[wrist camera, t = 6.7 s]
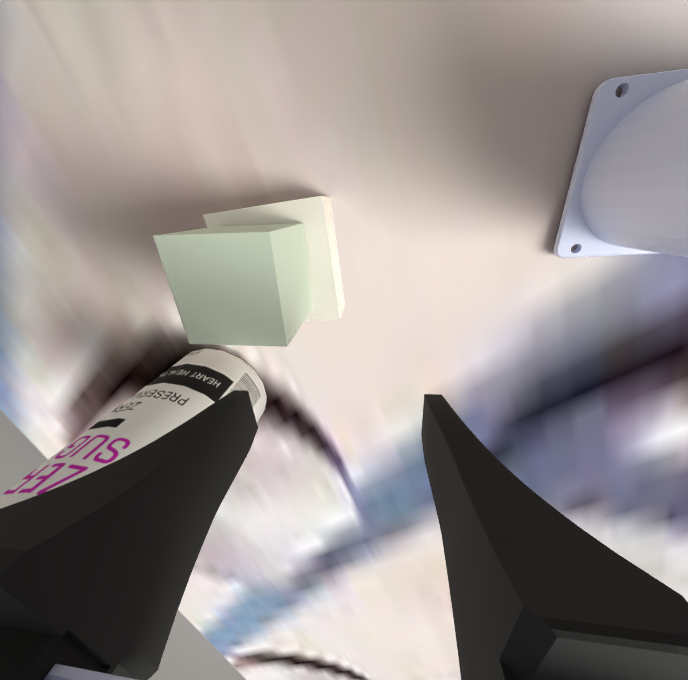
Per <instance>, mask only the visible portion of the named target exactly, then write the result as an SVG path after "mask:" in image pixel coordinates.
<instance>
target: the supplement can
mask: <svg viewBox="0 0 688 680" xmlns="http://www.w3.org/2000/svg"><path fill="white" fill-rule="evenodd" d="M234 390H248V392H249V396H250V400H251V403H252V407H253V411H254V414H255V418H256V422H258V420H259V419H260V417H261V415H262V414H263V412H264V410H265V405H266V399H267V396H266V393H265V389H264V385H263V383H262V381H261V380H260V378H259V377H258V375H257V374H256V372H255V371H254V370H253V369H252V368H251V367H250V366H249V365H248V364H246V363H245V362H244V361H243V360H242V359H240V358H238V357H236V356H234V355H231V354H229V353H227V352H225V351H221V350H213V349H201V350H197V351H192V352H190V353H189V354H188V355H186V356H185V357H184V358H182V359H181V360H180V361H178V362H177V363H176V364H174V365H173V366H172V367H170V368H169V369H168V370H166V371H165V372H164V373H162V374H161V375H160V376H158V377H157V378H156V379H154V380H153V381H152V382H150V383H149V384H148V385H147V386H145V387H144V388H143V389H141V390H140V391H139V392H137V393H136V394H135V395H133V396H132V397H131V398H129V399H128V400H127V401H125V402H124V403H123V404H121V405H120V406H119V407H117V408H116V409H115V410H113V411H112V412H111V413H109V414H108V415H107V416H105V417H104V418H103V419H102V420H100V421H99V422H98V423H96V424H95V425H94V426H92V427H91V428H90V429H88V430H87V431H86V432H84V433H83V434H82V435H80V436H79V437H78V438H76V439H75V440H74V441H72V442H71V443H70V444H68V445H67V446H66V447H64V448H63V449H62V450H60V451H59V452H58V453H57V454H55V455H54V456H53V457H51V458H50V459H49V460H47V461H46V462H45V463H43V464H42V465H41V466H39V467H38V468H37V469H35V470H34V471H33V472H31V473H30V474H29V475H27V476H26V477H25V478H23V479H22V480H21V481H19V482H18V483H17V484H15V485H14V486H13V487H12V488H10V489H9V490H8V491H6V492H5V493H4V494H2V495H1V496H0V509H1V508H4V507H6V506H9V505H12V504H15V503H18V502H20V501H23V500H26V499H29V498H31V497H34V496H37V495H39V494H42V493H44V492H47V491H49V490H52V489H54V488H57V487H59V486H62V485H64V484H66V483H69V482H71V481H74V480H76V479H78V478H81V477H83V476H85V475H87V474H89V473H92V472H94V471H96V470H98V469H100V468H102V467H104V466H106V465H109V464H111V463H113V462H115V461H117V460H119V459H121V458H123V457H125V456H127V455H129V454H131V453H133V452H135V451H137V450H138V449H140V448H142V447H144V446H146V445H148V444H149V443H151V442H153V441H155V440H156V439H158V438H160V437H162V436H163V435H165V434H166V433H168V432H170V431H171V430H173V429H175V428H176V427H178V426H179V425H181V424H183V423H184V422H186V421H187V420H189V419H190V418H192V417H194V416H195V415H197V414H198V413H200V412H201V411H203V410H204V409H206V408H207V407H209V406H210V405H212V404H213V403H215V402H216V401H218V400H219V399H221V398H222V397H224V396H226V395H227V394H229V393H231V392H232V391H234Z"/></svg>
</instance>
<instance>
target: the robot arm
mask: <svg viewBox="0 0 688 680" xmlns="http://www.w3.org/2000/svg"><path fill="white" fill-rule="evenodd" d="M618 86H620V87H621V88H622V94H621V96H620V97H617V96H616V95H615V94H616V89H617V87H618ZM575 244H576V245H577V248H576V250H575V251H573V252H571V248H572V246H573V245H575ZM553 252H554V254H555V255H556V256H557V257H561V258H570V257H593V256H615V255H638V254H660V253H662V254H668V255H674V256H680V257H686V258H688V68H687V69H679V70H671V71H663V72H655V73H648V74H640V75H632V76H624V77H616V78H611V79H608V80H607V81H605V82H603V83H602V84H600V85H599V86H598V87H597V89H596V90H595V92H594V94H593V97H592V101H591V105H590V109H589V112H588V116H587V120H586V124H585V128H584V132H583V136H582V140H581V144H580V147H579V151H578V155H577V159H576V163H575V167H574V171H573V175H572V179H571V183H570V186H569V190H568V194H567V198H566V202H565V206H564V210H563V214H562V218H561V221H560V225H559V229H558V233H557V237H556V241H555V245H554V249H553ZM257 429H258V425H257V422H256V418H255V414H254V411H253V407H252V403H251V400H250V396H249V392H248V390H234V391H232V392H231V393H229V394H227V395H226V396H224V397H222V398H221V399H219V400H218V401H216V402H215V403H213V404H212V405H210V406H209V407H207V408H206V409H204V410H203V411H201V412H200V413H198V414H197V415H195V416H194V417H192V418H190V419H189V420H187V421H186V422H184V423H183V424H181V425H179V426H178V427H176V428H175V429H173V430H171V431H170V432H168V433H166V434H165V435H163V436H162V437H160V438H158V439H156V440H155V441H153V442H151V443H149V444H148V445H146V446H144V447H142V448H140V449H138V450H137V451H135V452H133V453H131V454H129V455H127V456H125V457H123V458H121V459H119V460H117V461H115V462H113V463H111V464H109V465H106V466H104V467H102V468H100V469H98V470H96V471H94V472H92V473H89V474H87V475H85V476H83V477H81V478H78V479H76V480H74V481H71V482H69V483H66V484H64V485H62V486H59V487H57V488H54V489H52V490H49V491H47V492H44V493H42V494H39V495H37V496H34V497H31V498H29V499H26V500H23V501H20V502H18V503H15V504H12V505H9V506H6V507H4V508H1V509H0V680H148V679H149V678H150V677H151V676H152V675H153V674H154V673H155V672H156V671H157V670H158V667H159V664H160V661H161V658H162V655H163V652H164V649H165V645H166V643H167V640H168V636H169V634H170V631H171V628H172V625H173V622H174V619H175V616H176V612H177V610H178V607H179V605H180V602H181V599H182V596H183V594H184V591H185V588H186V586H187V583H188V580H189V577H190V575H191V572H192V570H193V567H194V565H195V562H196V560H197V557H198V555H199V552H200V550H201V547H202V545H203V542H204V540H205V537H206V535H207V533H208V530H209V528H210V526H211V524H212V521H213V519H214V517H215V514H216V512H217V510H218V508H219V506H220V504H221V502H222V500H223V499H224V497H225V495H226V493H227V491H228V489H229V488H230V486H231V484H232V482H233V480H234V478H235V476H236V475H237V473H238V471H239V469H240V467H241V465H242V464H243V462H244V460H245V458H246V456H247V454H248V452H249V450H250V448H251V445H252V443H253V440H254V437H255V435H256V432H257ZM421 435H422V443H423V452H424V460H425V464H426V468H427V473H428V477H429V481H430V485H431V490H432V494H433V498H434V502H435V506H436V511H437V515H438V519H439V524H440V529H441V534H442V539H443V546H444V553H445V560H446V566H447V573H448V580H449V588H450V595H451V602H452V609H453V617H454V625H455V632H456V640H457V648H458V656H459V664H460V672H461V680H688V602H687V601H686V600H685V599H684V597H683V596H682V595H680V594H679V593H677V592H675V591H674V590H672V589H671V588H669V587H668V586H666V585H665V584H663V583H662V582H660V581H658V580H657V579H655V578H654V577H652V576H651V575H649V574H648V573H646V572H645V571H643V570H641V569H640V568H638V567H637V566H635V565H634V564H632V563H631V562H629V561H628V560H626V559H624V558H623V557H621V556H620V555H618V554H617V553H615V552H614V551H612V550H611V549H609V548H608V547H607V546H605V545H604V544H602V543H601V542H600V541H598V540H597V539H595V538H594V537H592V536H591V535H590V534H588V533H587V532H585V531H584V530H583V529H581V528H580V527H578V526H577V525H576V524H574V523H573V522H572V521H570V520H569V519H568V518H566V517H565V516H564V515H562V514H561V513H560V512H559V511H557V510H556V509H555V508H553V507H552V506H551V505H550V504H548V503H547V502H546V501H545V500H543V499H542V498H541V497H539V496H538V495H537V494H536V493H534V492H533V491H532V490H531V489H530V488H528V487H527V486H526V485H525V484H524V483H523V482H521V481H520V480H519V479H518V478H517V477H516V476H515V475H514V474H513V473H511V472H510V471H509V470H508V469H507V468H506V467H505V466H504V465H503V464H502V463H501V462H500V461H499V460H498V459H497V458H496V457H495V456H494V455H493V454H492V453H491V452H490V451H489V450H488V449H487V448H486V447H485V446H484V445H483V444H482V443H481V442H480V441H479V440H478V438H477V437H476V436H475V435H474V434H473V433H472V432H471V430H470V429H469V428H468V427H467V426H466V425H465V424H464V422H463V421H462V420H461V419H460V418H459V416H458V415H457V414H456V413H455V411H454V410H453V409H452V408H451V406H450V405H449V404H448V402H447V401H446V400H445V398H444V397H443V396H442V395H433V394H424V408H423V421H422V434H421Z"/></svg>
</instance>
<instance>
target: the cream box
mask: <svg viewBox="0 0 688 680" xmlns="http://www.w3.org/2000/svg"><path fill="white" fill-rule="evenodd" d="M203 217H204V220H205V223H206V227H207V228H208V227H215V226H233V225H261V224H289V223H304V233H305V243H306V253H307V263H308V273H309V284H310V294H311V304H312V310H311V311H310V313H309V314H308V316H307V317H306V319H305V320H304V322H313V321H326V320H339V319H340V318H341V315H342V313H343V310H344V308H345V302H344V295H343V287H342V280H341V272H340V265H339V258H338V250H337V243H336V236H335V228H334V221H333V214H332V206H331V199H330V197H326V196H316V197H310V198H304V199H297V200H291V201H285V202H279V203H272V204H266V205H260V206H253V207H247V208H241V209H235V210H228V211H222V212H216V213H210V214H203Z"/></svg>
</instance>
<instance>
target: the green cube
mask: <svg viewBox="0 0 688 680" xmlns="http://www.w3.org/2000/svg"><path fill="white" fill-rule="evenodd" d="M153 237H154V240H155V243H156V246H157V249H158V252H159V255H160V258H161V261H162V264H163V267H164V270H165V273H166V276H167V279H168V282H169V285H170V288H171V291H172V294H173V297H174V300H175V303H176V306H177V309H178V312H179V315H180V318H181V321H182V324H183V327H184V330H185V332H186V335H187V338H188V341H189V344H213V345H250V346H288V344H289V343H290V341H291V340H292V338H293V337H294V335H295V334H296V332H297V331H298V329H299V328H300V326H301V325H302V323H303V322H304V320H305V319H306V317H307V316H308V314H309V313H310V311H311V310H312V304H311V294H310V284H309V273H308V263H307V253H306V243H305V233H304V223H289V224H261V225H233V226H215V227H208V228H202V229H195V230H188V231H181V232H174V233H167V234H160V235H153Z"/></svg>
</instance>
